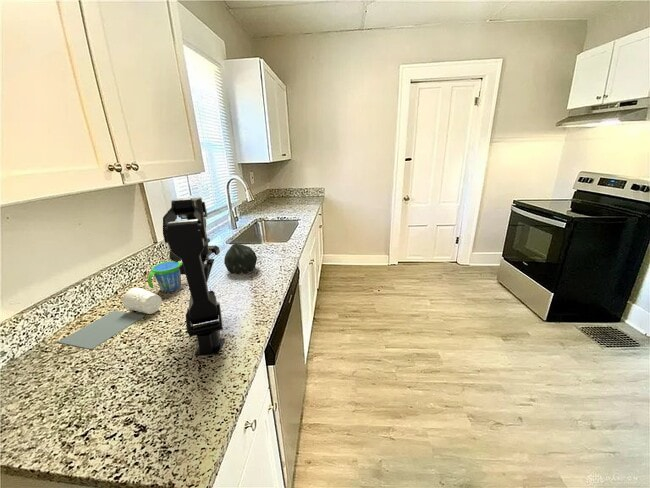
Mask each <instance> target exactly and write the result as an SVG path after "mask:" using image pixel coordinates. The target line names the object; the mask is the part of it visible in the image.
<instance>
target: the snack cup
mask: <svg viewBox="0 0 650 488" xmlns="http://www.w3.org/2000/svg"><path fill="white" fill-rule="evenodd" d="M182 264H183V263H182V262H180V261H178V262H176V263H175V261H172V260H170V261H165V262H160V263H158V264H155V265H154V266H152V268H151V272H150V273H149V274H148V278H147V284H148V287H149V288H150V289H154V285H153V282H152V278H153V277H155V280H156V282H157V284H158V287H159V288H160V291H162V292H173V291H176V290H178V289H180V287H181V286H182V274H180V272H179V267H180V266H181V265H182Z"/></svg>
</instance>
